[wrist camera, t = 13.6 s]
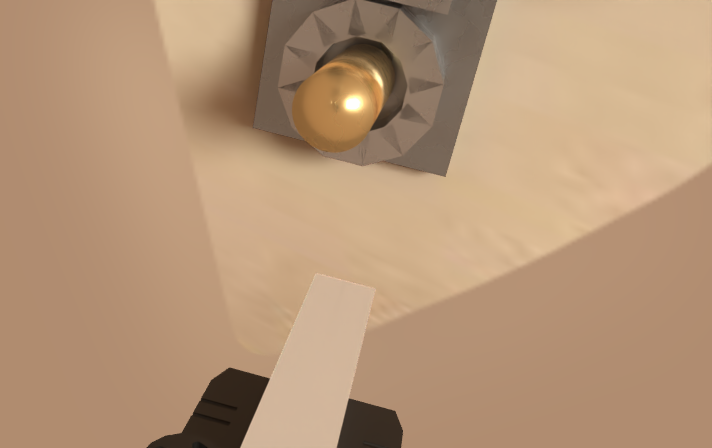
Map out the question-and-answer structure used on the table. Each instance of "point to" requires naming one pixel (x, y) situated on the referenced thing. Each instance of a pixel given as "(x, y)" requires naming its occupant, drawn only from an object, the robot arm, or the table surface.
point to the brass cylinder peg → (343, 98)
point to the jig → (410, 61)
